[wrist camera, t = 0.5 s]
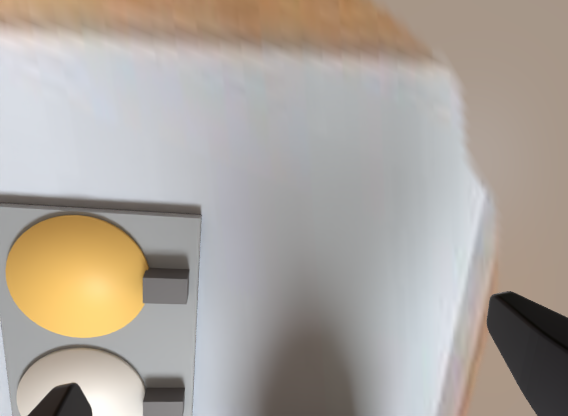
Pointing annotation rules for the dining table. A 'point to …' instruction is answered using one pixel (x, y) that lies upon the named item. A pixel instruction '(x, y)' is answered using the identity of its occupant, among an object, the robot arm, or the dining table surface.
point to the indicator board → (100, 307)
